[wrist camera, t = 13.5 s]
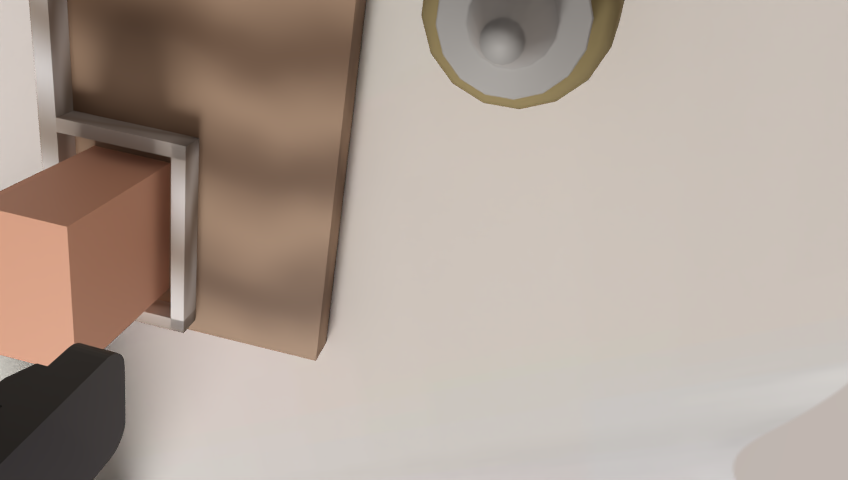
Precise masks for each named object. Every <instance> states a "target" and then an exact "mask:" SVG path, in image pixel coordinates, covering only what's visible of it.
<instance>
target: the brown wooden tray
mask: <svg viewBox="0 0 848 480" xmlns="http://www.w3.org/2000/svg"><path fill="white" fill-rule="evenodd" d="M365 6H366V0H29V7H30V20H31V32H32V44H33V57H34V69H35V81H36V94H37V106H38V119H39V131H40V143H41V156H42V168H43V170H45V169H47V168H49V167H51V166H53V165H55V164H58V163H60V162H62V161H64V160H66V159H68V158H70V157H72V156H74V155H76V154H78V153H80V152H82V151H85V150H87V149H89V148H91V147H93V146H98V147H103V148H107V149H111V150H116V151H120V152H125V153H129V154H133V155H138V156H142V157H146V158H151V159H155V160H160V161H164V162H168V163H171V166H170V288H169V289H168V290H167V291H166V292H165V293H164V294H163V295H161V296H160V297H159V298H158V299H157V300H156V301H155V302H154V303H153V304H152V305H151V306H150V307H149V308H147V309H146V310H145V311H144V312H143V313H142V314H141V315H140V316H139V317H138V318H137V319H136V320H135V321H137V322H141V323H146V324H150V325H154V326H158V327H162V328H166V329H170V330H174V331H178V332H182V333H184V332H185V331H186V330H187V329H189V330H193V331H197V332H201V333H206V334H210V335H214V336H218V337H222V338H226V339H230V340H234V341H238V342H242V343H246V344H250V345H254V346H258V347H262V348H266V349H270V350H274V351H278V352H282V353H287V354H291V355H295V356H299V357H303V358H307V359H311V360H315V361H316V359H317V358H318V356H319V354H320V352H321V351H322V349H323V347H324V345H325V344H326V338H327V330H328V321H329V313H330V304H331V296H332V287H333V279H334V270H335V262H336V253H337V245H338V236H339V227H340V219H341V210H342V202H343V193H344V185H345V176H346V168H347V159H348V151H349V142H350V134H351V125H352V117H353V108H354V100H355V91H356V83H357V74H358V66H359V57H360V48H361V40H362V31H363V23H364V14H365Z"/></svg>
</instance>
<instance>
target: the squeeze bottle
mask: <svg viewBox="0 0 848 480" xmlns="http://www.w3.org/2000/svg"><path fill="white" fill-rule="evenodd" d="M623 4H624V0H423V8H422V20H423V24H424V28H425V32H426V36H427V40H428V44H429V47H430V51H431V54H432V55H433V57H434V58H435V59H436V61H437V62H438V64H439V65H440V66H441V68H442V69H443V71H444V72H445V73H446V75H447V76H448V78H449V79H450V80H451V82H452V83H453V84H455V85H456V86H458V87H459V88H461V89H463V90H464V91H466V92H467V93H469V94H470V95H472V96H474V97H475V98H477V99H478V100H480V101H481V102H483V103H488V104H493V105H499V106H505V107H510V108H516V109H522V108H527V107H532V106H536V105H541V104H546V103H550V102H555V101H557V100H559V99H560V98H562V97H563V96H565V95H566V94H568V93H569V92H571V91H572V90H574V89H575V88H577V87H578V86H580V85H581V84H583V83H584V82H586V81H587V80H588V79H589V78H590V77H591V75H592V74H593V72H594V71H595V69H596V68H597V67H598V65H599V64H600V62H601V61H602V59H603V58H604V57H605V55H606V54H607V52H608V51H609V49H610V48H611V46H612V43H613V40H614V37H615V34H616V31H617V28H618V24H619V21H620V17H621V13H622V8H623Z"/></svg>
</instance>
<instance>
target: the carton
mask: <svg viewBox="0 0 848 480" xmlns="http://www.w3.org/2000/svg"><path fill="white" fill-rule="evenodd" d="M170 166H171V163H168V162H164V161H160V160H155V159H151V158H146V157H142V156H138V155H133V154H129V153H125V152H120V151H116V150H111V149H107V148H103V147H98V146H93V147H91V148H89V149H87V150H85V151H82V152H80V153H78V154H76V155H74V156H72V157H70V158H68V159H66V160H64V161H62V162H60V163H58V164H55V165H53V166H51V167H49V168H47V169H45V170H43V171H41V172H39V173H37V174H35V175H33V176H31V177H29V178H26V179H24V180H22V181H20V182H18V183H16V184H14V185H12V186H10V187H8V188H6V189H4V190H2V191H0V355H3V356H7V357H11V358H15V359H19V360H22V361H26V362H30V363H34V364H37V363H38V364H41V365H45V366H48V365H49V364H51V363H52V362H53V361H54V360H55V359H56V358H57V357H58V356H60V355H61V354H62V353H63V352H64V351H65V350H66V349H67V348H69V347H70V346H71V345H73V344H76V343H82V344H86V345H89V346H93V347H97V348H100V349H104V348H105V347H107V346H108V345H109V344H110V343H111V342H112V341H113V340H114V339H115V338H116V337H117V336H118V335H119V334H121V333H122V332H123V331H124V330H125V329H126V328H127V327H128V326H129V325H130V324H131V323H132V322H133V321H135V320H136V319H137V318H138V317H139V316H140V315H141V314H142V313H143V312H144V311H145V310H146V309H147V308H149V307H150V306H151V305H152V304H153V303H154V302H155V301H156V300H157V299H158V298H159V297H160V296H161V295H163V294H164V293H165V292H166V291H167V290H168V289H169V288H170Z"/></svg>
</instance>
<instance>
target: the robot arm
mask: <svg viewBox="0 0 848 480" xmlns="http://www.w3.org/2000/svg"><path fill="white" fill-rule="evenodd" d="M124 427H125V365H124V359H123V357H122V355H121V354H118V353H115V352H111V351H108V350H104V349H100V348H97V347H93V346H89V345H86V344H82V343H76V344H73V345H71V346H70V347H69V348H67V349H66V350H65V351H64V352H63V353H62V354H61V355H60V356H58V357H57V358H56V359H55V360H54V361H53V362H52V363H51V364H49V365H48V366H45V365H41V364H38V363H37V364H35V365H32V366H30V367H28V368H26V369H24V370H22V371H19V372H17V373H15V374H13V375H11V376H8V377H6V378H4V379H3V380H2V381H1V382H0V480H93V479H94V477H95V476H96V475H97V474H98V473H99V471H100V470H101V469H102V468H103V467H104V465H105V464H106V463H107V462H108V461H109V459H110V458H111V457H112V455H113V454H114V452H115V451H116V449H117V447H118V445H119V443H120V440H121V438H122V435H123V431H124Z"/></svg>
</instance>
